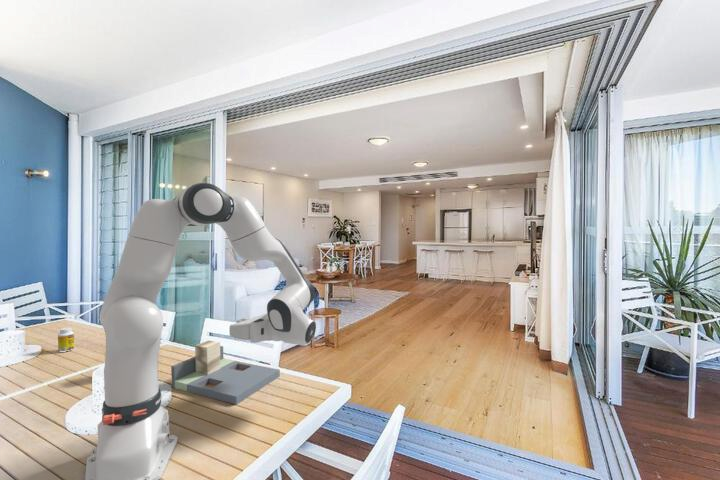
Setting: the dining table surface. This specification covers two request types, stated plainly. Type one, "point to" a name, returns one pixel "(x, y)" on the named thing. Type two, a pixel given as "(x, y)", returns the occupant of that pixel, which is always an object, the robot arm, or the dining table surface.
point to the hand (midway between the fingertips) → (239, 321)
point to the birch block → (207, 357)
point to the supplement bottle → (65, 339)
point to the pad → (195, 377)
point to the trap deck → (226, 379)
